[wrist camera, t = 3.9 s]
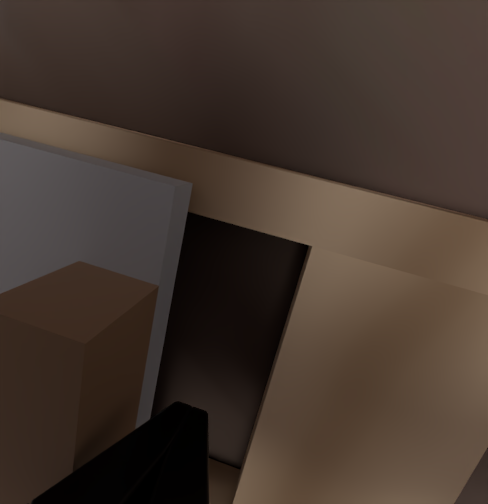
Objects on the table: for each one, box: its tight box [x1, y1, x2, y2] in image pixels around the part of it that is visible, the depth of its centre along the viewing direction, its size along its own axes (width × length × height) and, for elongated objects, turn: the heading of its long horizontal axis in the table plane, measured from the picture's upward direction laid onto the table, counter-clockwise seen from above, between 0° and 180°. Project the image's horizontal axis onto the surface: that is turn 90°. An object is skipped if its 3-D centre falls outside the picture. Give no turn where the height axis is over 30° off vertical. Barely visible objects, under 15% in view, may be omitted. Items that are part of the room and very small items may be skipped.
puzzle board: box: [0, 98, 488, 504], centre depth 12 cm, size 17×23×2 cm
